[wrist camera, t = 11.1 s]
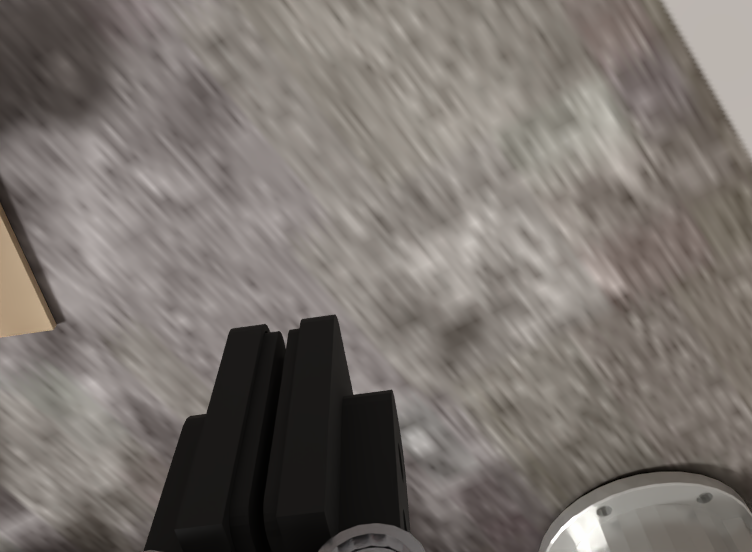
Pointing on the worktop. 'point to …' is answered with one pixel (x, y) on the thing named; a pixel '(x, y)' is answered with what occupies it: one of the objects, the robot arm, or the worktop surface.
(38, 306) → the cork mat
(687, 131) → the worktop surface
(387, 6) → the worktop surface
